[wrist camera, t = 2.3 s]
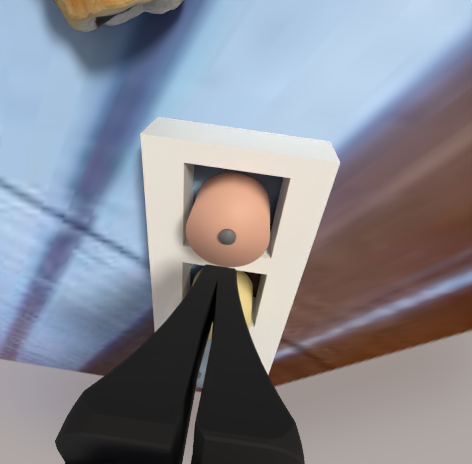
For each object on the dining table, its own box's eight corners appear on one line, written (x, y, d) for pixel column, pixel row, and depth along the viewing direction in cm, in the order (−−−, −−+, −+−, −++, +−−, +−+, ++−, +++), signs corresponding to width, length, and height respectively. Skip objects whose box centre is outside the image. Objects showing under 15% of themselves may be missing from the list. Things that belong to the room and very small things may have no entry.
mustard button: (248, 310, 24) (245, 347, 21) (192, 302, 24) (183, 337, 21) (257, 269, 21) (255, 305, 19) (194, 260, 21) (183, 294, 19)
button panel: (265, 355, 31) (264, 385, 28) (166, 340, 31) (157, 369, 28) (330, 141, 18) (340, 162, 15) (158, 116, 18) (140, 133, 15)
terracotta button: (263, 239, 20) (262, 274, 17) (195, 230, 20) (184, 263, 17) (276, 178, 17) (277, 208, 14) (198, 166, 17) (185, 194, 15)
